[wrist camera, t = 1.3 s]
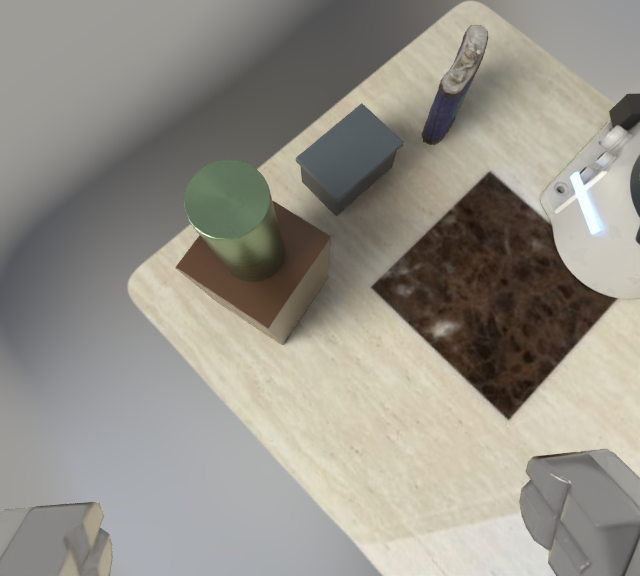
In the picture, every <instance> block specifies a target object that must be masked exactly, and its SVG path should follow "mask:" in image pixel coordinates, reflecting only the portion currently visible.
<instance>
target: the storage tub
mask: <svg viewBox="0 0 640 576" xmlns="http://www.w3.org/2000/svg"><path fill="white" fill-rule="evenodd" d="M403 143H404V142H403V141H402V140H401V139H400V138H399V137H398V136H397V135H396V134H395V133H393V132H392V131H391V130H390V129H389V128H388V127H387V126H386V125H385V124H384V123H383V122H382V121H380V120H379V119H378V118H377V117H376V116H375V115H374V114H373V113H372V112H371V111H370V110H369V109H367V108H366V107H365V106H364V105H363V104H360V105H359V106H358V107H357V108H356V109H354V110H353V111H352V112H351V113H350V114H348V115H347V116H346V117H345V118H344V119H342V120H341V121H340V122H339V123H338V124H336V125H335V126H334V127H333V128H332V129H330V130H329V131H328V132H327V133H326V134H324V135H323V136H322V137H321V138H320V139H318V140H317V141H316V142H315V143H314V144H312V145H311V146H310V147H309V148H307V149H306V150H305V151H304V152H303V153H301V154H300V155H299V156H298V157H297V158H296V162H297V163H298V164H299V165H300V166H301V175H302V182H303V183H304V184H305V185H306V186H307V187H308V188H309V189H310V190H311V191H312V192H313V193H314V194H315V195H316V196H317V197H318V198H319V199H320V200H321V201H322V202H323V203H324V204H325V205H326V206H327V207H328V208H329V209H330V210H331V211H332V212H333V213H334V214H335V215H336V216H337V215H338V214H339V213H340V212H341V211H342V210H344V209H345V208H346V207H347V206H348V205H349V204H350V203H352V202H353V201H354V200H355V199H356V198H357V197H358V196H360V195H361V194H362V193H363V192H364V191H365V190H366V189H368V188H369V187H370V186H371V185H372V184H373V183H374V182H376V181H377V180H378V179H379V178H380V177H381V176H382V175H383V174H385V173H386V172H387V171H388V170H389V169H390V168H391V167H392V165H393V162H394V159H395V156H396V153H397V150H398V149H399V148H401V147H402V146H403Z"/></svg>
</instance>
